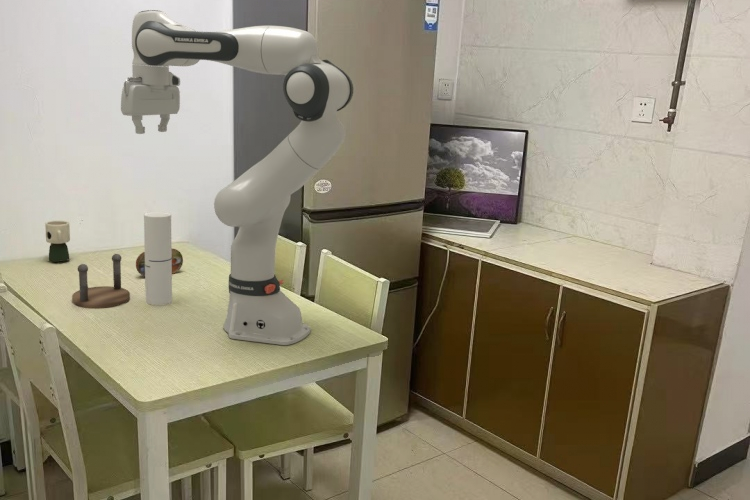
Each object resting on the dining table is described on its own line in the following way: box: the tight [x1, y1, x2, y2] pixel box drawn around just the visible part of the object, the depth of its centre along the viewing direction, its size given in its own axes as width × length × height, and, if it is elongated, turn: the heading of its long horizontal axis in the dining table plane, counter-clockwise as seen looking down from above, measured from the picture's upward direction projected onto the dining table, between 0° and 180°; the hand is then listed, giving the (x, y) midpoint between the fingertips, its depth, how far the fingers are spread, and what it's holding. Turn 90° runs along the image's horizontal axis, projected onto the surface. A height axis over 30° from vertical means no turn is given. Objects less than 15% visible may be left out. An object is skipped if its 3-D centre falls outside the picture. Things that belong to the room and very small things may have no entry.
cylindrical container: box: [143, 211, 173, 306], centre depth 192 cm, size 7×7×25 cm
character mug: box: [44, 220, 71, 263], centre depth 225 cm, size 11×7×13 cm, turn 30°
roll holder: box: [71, 253, 131, 309], centre depth 192 cm, size 15×16×12 cm
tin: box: [135, 248, 184, 278], centre depth 219 cm, size 15×3×8 cm, turn 133°
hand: (151, 132), depth 178 cm, fingers open, 8 cm apart
